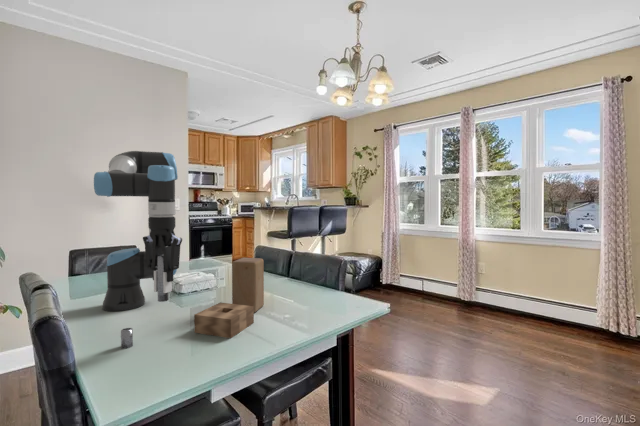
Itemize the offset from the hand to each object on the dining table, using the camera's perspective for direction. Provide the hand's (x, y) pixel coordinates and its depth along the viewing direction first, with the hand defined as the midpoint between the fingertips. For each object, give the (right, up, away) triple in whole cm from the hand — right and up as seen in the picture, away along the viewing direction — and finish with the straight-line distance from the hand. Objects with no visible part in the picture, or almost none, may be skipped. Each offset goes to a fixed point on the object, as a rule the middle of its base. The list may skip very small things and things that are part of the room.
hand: (163, 291), depth 102 cm
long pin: (0, -3, 0) cm, 3 cm away
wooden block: (+20, -15, +31) cm, 39 cm away
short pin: (-9, -15, -4) cm, 18 cm away
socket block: (+16, -15, +10) cm, 25 cm away
